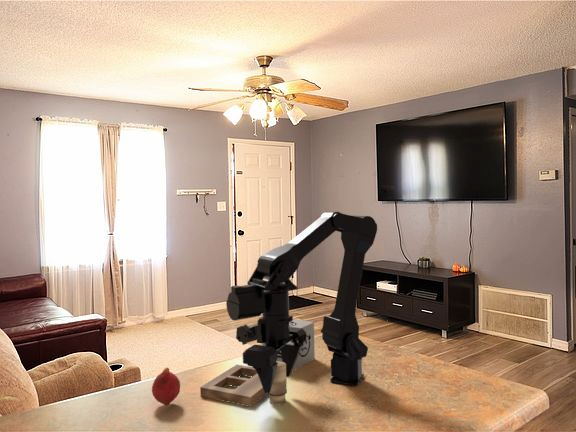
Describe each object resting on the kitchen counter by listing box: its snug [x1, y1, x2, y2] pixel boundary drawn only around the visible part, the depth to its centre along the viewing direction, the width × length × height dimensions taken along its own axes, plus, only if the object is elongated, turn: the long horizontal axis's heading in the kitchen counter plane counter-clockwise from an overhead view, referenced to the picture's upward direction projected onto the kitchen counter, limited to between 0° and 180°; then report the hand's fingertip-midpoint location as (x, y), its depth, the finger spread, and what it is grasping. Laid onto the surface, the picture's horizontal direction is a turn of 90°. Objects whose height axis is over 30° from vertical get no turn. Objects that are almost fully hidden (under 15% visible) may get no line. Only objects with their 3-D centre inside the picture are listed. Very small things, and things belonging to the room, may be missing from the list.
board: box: [200, 364, 267, 407], centre depth 106 cm, size 13×15×2 cm
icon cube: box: [262, 318, 316, 372], centre depth 123 cm, size 10×10×10 cm
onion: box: [151, 366, 181, 406], centre depth 98 cm, size 6×6×8 cm
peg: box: [267, 361, 288, 406], centre depth 99 cm, size 4×4×8 cm
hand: (277, 384), depth 99 cm, fingers open, 9 cm apart
